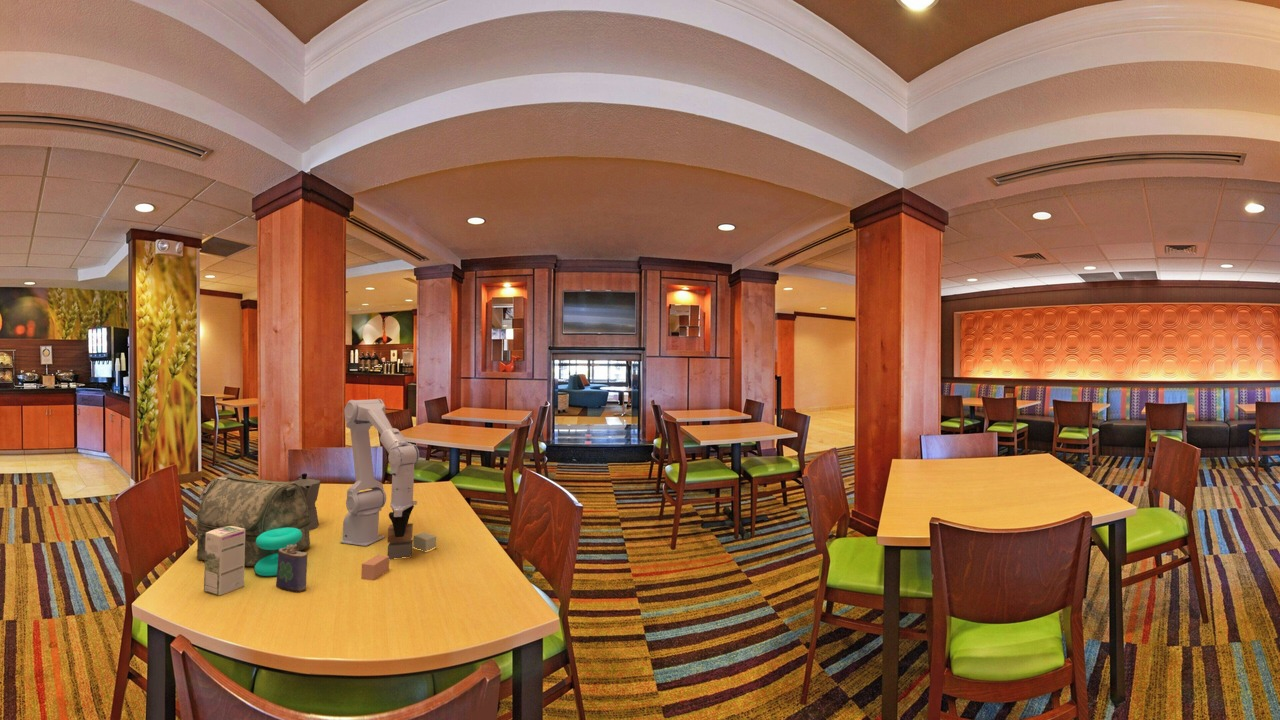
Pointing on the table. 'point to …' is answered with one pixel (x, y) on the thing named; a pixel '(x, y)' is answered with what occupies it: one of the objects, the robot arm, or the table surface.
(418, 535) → the sage block
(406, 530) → the walnut block
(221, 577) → the syrup box
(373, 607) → the table surface
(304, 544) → the lunch bag
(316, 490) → the coffeepot
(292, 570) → the flask
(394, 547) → the charcoal block
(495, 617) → the table surface
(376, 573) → the terracotta block
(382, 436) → the robot arm
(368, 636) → the table surface
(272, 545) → the donuts
